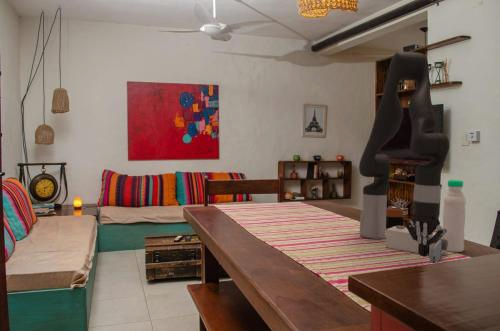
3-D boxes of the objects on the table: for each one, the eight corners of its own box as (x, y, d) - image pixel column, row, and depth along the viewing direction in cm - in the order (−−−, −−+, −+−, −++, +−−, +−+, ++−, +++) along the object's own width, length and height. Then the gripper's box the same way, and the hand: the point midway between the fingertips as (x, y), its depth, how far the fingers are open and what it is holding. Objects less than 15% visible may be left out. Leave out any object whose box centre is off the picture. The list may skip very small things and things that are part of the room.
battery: (403, 230, 176) (404, 207, 175) (387, 229, 176) (388, 207, 176) (400, 228, 180) (400, 205, 180) (384, 227, 181) (385, 205, 180)
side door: (434, 271, 118) (435, 251, 118) (428, 270, 119) (429, 250, 119) (443, 257, 133) (443, 239, 133) (438, 256, 134) (439, 238, 133)
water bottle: (437, 248, 145) (439, 179, 144) (451, 246, 148) (454, 179, 146) (453, 253, 139) (456, 181, 137) (468, 251, 141) (471, 180, 140)
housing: (385, 247, 146) (386, 227, 145) (394, 243, 152) (395, 224, 151) (442, 257, 133) (443, 235, 133) (449, 253, 139) (450, 232, 139)
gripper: (399, 197, 125) (397, 252, 126) (440, 204, 114) (436, 264, 115) (414, 195, 129) (411, 248, 130) (454, 201, 118) (451, 259, 119)
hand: (423, 255), depth 122 cm, fingers closed
